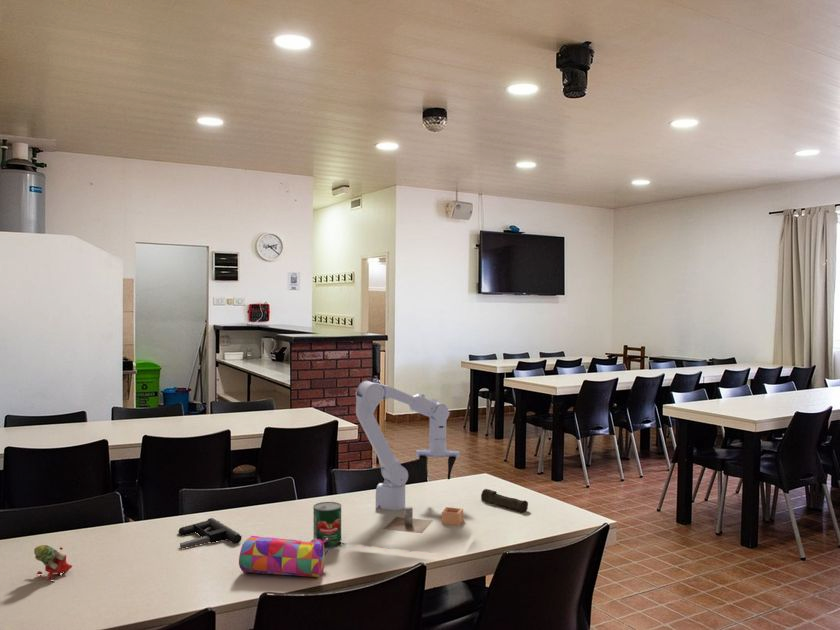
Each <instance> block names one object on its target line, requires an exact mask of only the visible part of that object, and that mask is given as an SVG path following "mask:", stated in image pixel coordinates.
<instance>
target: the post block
mask: <svg viewBox="0 0 840 630" xmlns="http://www.w3.org/2000/svg"><path fill="white" fill-rule="evenodd" d="M413 511H414V510H413V506H412V507H411V506H405V508H404V517H403V516H402V517H399V516H395V517H394V518H393V519H392V520H391V521H390V522H389V523H388V524H386V525H385V526H384V527H383V528H382V530H389V531H399V532H408V533H416V534H417V533H419V534H423V533H424V532H425V530H426V529H427V528H429V526H430V524H431V523H433V521H434V520H433V519H431V520H430V519H424V518H423V519H421V518H413Z"/></svg>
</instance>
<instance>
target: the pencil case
mask: <svg viewBox="0 0 840 630" xmlns="http://www.w3.org/2000/svg"><path fill="white" fill-rule="evenodd" d="M313 538H314V537H313ZM327 540H328V538H326V539H325V541H323V542H322V541H321V540H320V539H317V538H314V539H311V540H310V541H305V540H304V541H302V540H297V539H287V538H280V537H279V538H278V537H266V536H265V537H264V536H258V535H251V536H250V537H248V538H246V539H245V540H244V541H243V544H242V546H241V548H240V552H239V556H238V557H239V558H238V566H239V568H240V569H241V571H242V572H243V573H256V574H263V575H265V574H266V575H268V574H272V573H273V575H281V576H297V577H298V576H299V577H300V576H301V577H309V578H310V577H311V578H320V577H321V575H322V574H323V572H324V569H325V558H326V557H327V556H328V554H329V550H330V549H324V544H323V543H325V542H326V541H327Z"/></svg>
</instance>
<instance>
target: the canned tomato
mask: <svg viewBox="0 0 840 630" xmlns="http://www.w3.org/2000/svg"><path fill="white" fill-rule="evenodd" d="M312 514H313V537H312V538H313V539H314V538H317V539H320V540H321V541H322V542H323V541H325V539H326V538H328V540H327V541H326V542H325V543H323V544H324V550H327V549H329V550H333V549H337V548H339V547H340V546H342V542H341V540H342V504H341V503H339V502H335V501H325V502H324V501H323V502H317V503H315V504H313V513H312ZM313 539H312V540H313Z"/></svg>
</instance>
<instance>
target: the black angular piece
mask: <svg viewBox="0 0 840 630" xmlns="http://www.w3.org/2000/svg"><path fill="white" fill-rule="evenodd" d="M209 530H211V531H209ZM207 531H208V532H207ZM195 532H196V533H198V534H199V535H200V537H198V538H194V539H191V540H186V541H183V542H180V543H179V548H180V547H181V548H180V549H182V548H185V549H187V548H186V547H190V548H192V547H191V546H194V547H196V546H195V545H198V546H201V545H200V544H203V545H205V544H204V543H207V544H209V543H208V542H211V543H210V544H213V543H212V542H215V543H217V542H216V541H219V542H222V541H221V540H224V541H229V542H230V543H232V544H239V543H240V542H241V541H242V537H243V535H241V534H240V533H239V532H237V531H235V530H234V529H233V528H230V527H229V526H227V525H225V524H224V523H222V522H221V521H220V520H217V519H215V518H213V517H210V518H208V519H207V520H205V521H201V522H197V523H194V524H190V525H185V526H181V527H180V528H179V529H178V534H179V535H180V534H181V535H180V536H182V535H185V536H187V535H186V534H189V535H192V534H191V533H193V534H196V533H195ZM198 534H197V535H198ZM199 535H198V536H199ZM201 536H202V537H201ZM226 539H227V540H226Z"/></svg>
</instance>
